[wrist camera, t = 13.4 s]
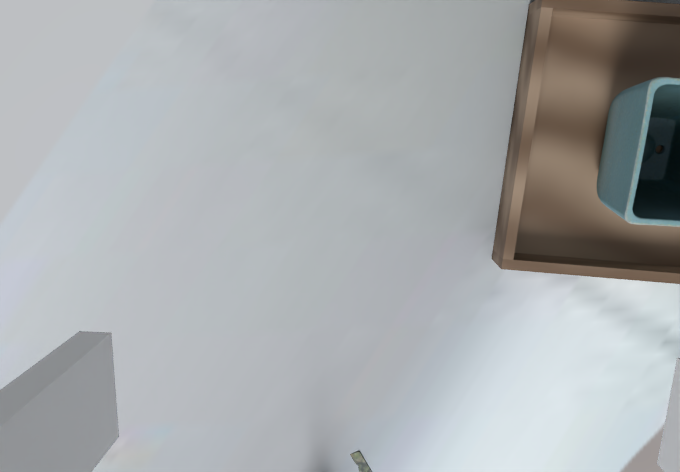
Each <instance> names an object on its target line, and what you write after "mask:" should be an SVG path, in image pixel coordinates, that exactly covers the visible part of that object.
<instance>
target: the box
mask: <svg viewBox="0 0 680 472" xmlns="http://www.w3.org/2000/svg"><path fill="white" fill-rule="evenodd" d="M657 77H672V78H680V4H671V3H656V2H642V1H627V0H535V1H533V2H532V3H530V4H529V9H528V16H527V22H526V29H525V36H524V43H523V49H522V56H521V63H520V70H519V77H518V83H517V90H516V97H515V104H514V111H513V117H512V124H511V131H510V138H509V145H508V151H507V158H506V165H505V172H504V179H503V185H502V192H501V199H500V206H499V212H498V219H497V226H496V233H495V240H494V246H493V253H492V259H493V261H494V262H495V263H496V264H497V265H498V266H499V267H500V268H501V269H508V270H520V271H532V272H544V273H556V274H568V275H580V276H592V277H604V278H616V279H628V280H640V281H652V282H664V283H676V284H680V227H674V226H657V225H636V224H630V223H628V222H627V221H625V220H624V219H623V218H621V217H620V216H618V215H617V214H616V213H614V212H613V211H612V210H610V209H609V208H608V207H606V206H605V205H604V204H603V203H602V202H601V201H600V199H599V197H598V194H597V177H598V172H599V166H600V160H601V155H602V149H603V143H604V138H605V131H606V125H607V119H608V113H609V109H610V106H611V103H612V101H613V100H614V98H615V97H616V96H617V95H618V94H619V93H620V92H622V91H623V90H625V89H627V88H630V87H632V86H635V85H638V84H640V83H643V82H645V81H648V80H651V79H654V78H657ZM661 151H662V146H657V148H656V152H658V153H660V152H661Z"/></svg>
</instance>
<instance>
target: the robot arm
mask: <svg viewBox="0 0 680 472" xmlns="http://www.w3.org/2000/svg"><path fill="white" fill-rule="evenodd" d="M118 437H119V430H118V417H117V403H116V390H115V376H114V363H113V349H112V336H111V333H105V332H83V331H79V332H78V333H77V334H75V335H74V336H73V337H71V338H70V339H69V340H67V341H66V342H64V343H63V344H62V345H60V346H59V347H58V348H56V349H55V350H54V351H52V352H51V353H50V354H48V355H47V356H46V357H44V358H43V359H42V360H40V361H39V362H38V363H36V364H35V365H33V366H32V367H31V368H29V369H28V370H27V371H25V372H24V373H23V374H21V375H20V376H19V377H17V378H16V379H15V380H13V381H12V382H11V383H9V384H8V385H6V386H5V387H4V388H2V389H1V390H0V472H92V471H93V469H94V468H95V467H96V465H97V464H98V463H99V462H100V460H101V459H102V458H103V456H104V455H105V454H106V452H107V451H108V450H109V449H110V447H111V446H112V445H113V443H114V442H115V441H116V439H117V438H118ZM657 464H658V465H659V467H660V468H661V469H662V470H663V471H664V472H680V358H677V362H676V367H675V372H674V378H673V383H672V388H671V394H670V399H669V404H668V409H667V415H666V420H665V425H664V430H663V436H662V441H661V446H660V452H659V457H658V462H657Z"/></svg>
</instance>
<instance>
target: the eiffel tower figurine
mask: <svg viewBox="0 0 680 472" xmlns="http://www.w3.org/2000/svg"><path fill="white" fill-rule="evenodd" d="M350 455H351V457H352V458H353V460H354V462H355V463H356V464H357V465H358V466H359V472H372V471H371V470H370V468H369V467H368V465H367V464H366V462H365V460H364V459H363V457H362V455H361V454H360V452H356V453H353V454H350Z"/></svg>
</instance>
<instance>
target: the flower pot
mask: <svg viewBox="0 0 680 472" xmlns="http://www.w3.org/2000/svg"><path fill="white" fill-rule="evenodd" d="M657 146H662V151H661V152H660V153H658V152H656V148H657ZM597 194H598V197H599V199H600V201H601V202H602V203H603V204H604V205H605V206H606V207H608V208H609V209H610V210H612V211H613V212H614V213H616V214H617V215H618V216H620V217H621V218H623V219H624V220H625V221H627V222H628V223H630V224H636V225H657V226H674V227H680V78H672V77H657V78H654V79H651V80H648V81H645V82H643V83H640V84H638V85H635V86H632V87H630V88H627V89H625V90H623V91H622V92H620V93H619V94H618V95H617V96H616V97H615V98H614V100H613V101H612V103H611V106H610V109H609V113H608V119H607V125H606V131H605V138H604V143H603V149H602V155H601V160H600V166H599V172H598V177H597Z"/></svg>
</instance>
